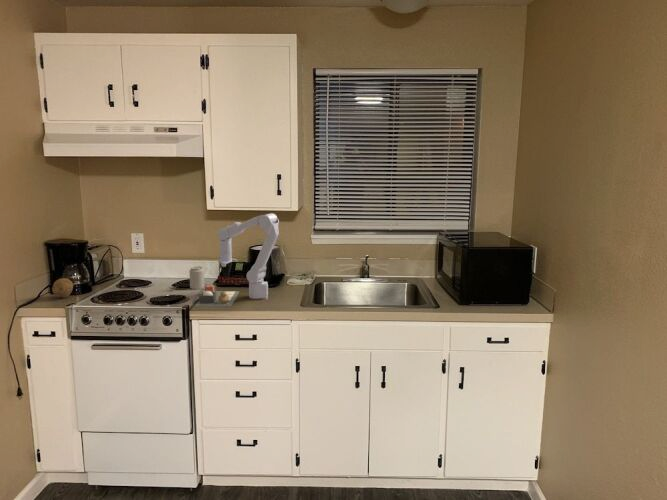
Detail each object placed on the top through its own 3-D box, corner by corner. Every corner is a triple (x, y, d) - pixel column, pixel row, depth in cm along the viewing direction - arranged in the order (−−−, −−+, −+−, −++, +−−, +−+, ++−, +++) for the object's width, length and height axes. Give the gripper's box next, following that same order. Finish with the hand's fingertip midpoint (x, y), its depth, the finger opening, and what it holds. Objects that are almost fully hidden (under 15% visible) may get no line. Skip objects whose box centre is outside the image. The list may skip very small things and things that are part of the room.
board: (239, 293, 246) (239, 284, 245) (231, 307, 221) (230, 298, 220) (207, 292, 245) (206, 284, 245) (194, 307, 220) (194, 298, 219)
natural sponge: (60, 301, 226) (59, 281, 224) (48, 299, 229) (46, 279, 228) (77, 296, 234) (76, 277, 232) (66, 294, 237) (64, 275, 236)
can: (190, 291, 248) (190, 269, 246) (189, 287, 255) (188, 266, 253) (205, 290, 251) (204, 268, 249) (203, 286, 258) (202, 265, 256)
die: (214, 292, 242) (214, 284, 242) (212, 294, 239) (212, 286, 238) (206, 292, 242) (206, 284, 241) (204, 294, 238) (204, 286, 238)
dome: (214, 299, 230) (214, 289, 229) (212, 302, 225) (211, 292, 224) (204, 299, 230) (203, 289, 229) (201, 302, 225) (201, 292, 224)
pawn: (229, 300, 229) (229, 290, 228) (227, 303, 224) (227, 292, 223) (219, 300, 229) (219, 290, 228) (217, 303, 224) (216, 292, 223)
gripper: (220, 248, 245) (221, 274, 247) (214, 254, 231) (215, 280, 233) (234, 249, 245) (234, 274, 248) (229, 254, 231) (229, 280, 233)
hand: (226, 277), depth 240 cm, fingers closed
